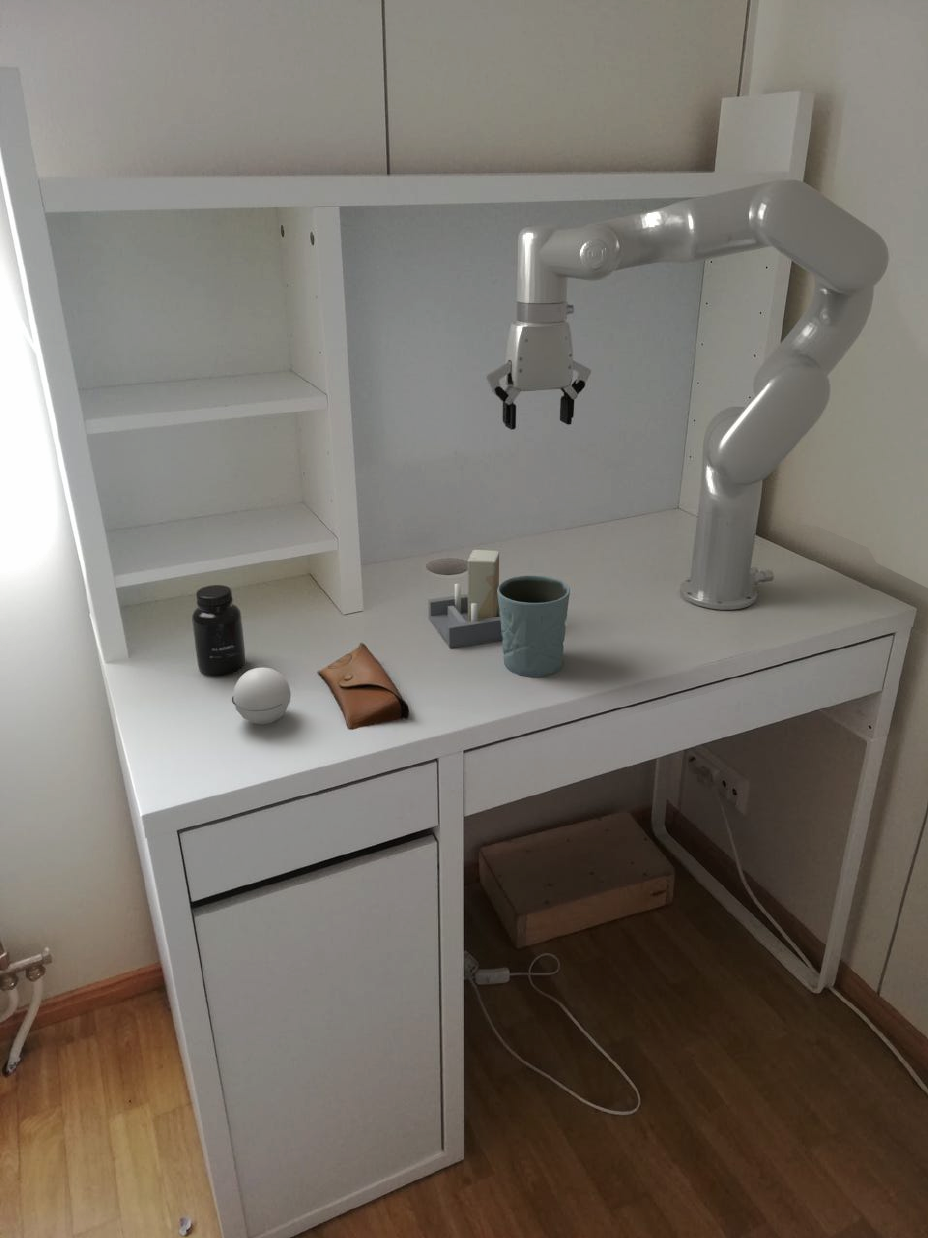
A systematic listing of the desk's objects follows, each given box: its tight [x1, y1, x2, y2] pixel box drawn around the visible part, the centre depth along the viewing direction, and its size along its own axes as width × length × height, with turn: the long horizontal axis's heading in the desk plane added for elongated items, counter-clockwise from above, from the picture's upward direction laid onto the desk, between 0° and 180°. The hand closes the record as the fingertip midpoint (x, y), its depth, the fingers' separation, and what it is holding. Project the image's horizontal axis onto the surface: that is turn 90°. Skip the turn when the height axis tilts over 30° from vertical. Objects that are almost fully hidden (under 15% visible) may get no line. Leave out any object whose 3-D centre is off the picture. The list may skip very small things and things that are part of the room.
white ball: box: [231, 667, 292, 725], centre depth 117 cm, size 10×7×7 cm
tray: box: [427, 583, 503, 649], centre depth 143 cm, size 14×11×6 cm
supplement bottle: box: [191, 584, 247, 677], centre depth 130 cm, size 7×7×12 cm
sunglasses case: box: [317, 642, 410, 730], centre depth 125 cm, size 18×7×7 cm
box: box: [467, 549, 500, 621], centre depth 141 cm, size 5×4×11 cm
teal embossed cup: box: [497, 574, 571, 678], centre depth 130 cm, size 10×10×12 cm
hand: (538, 425), depth 146 cm, fingers open, 9 cm apart
